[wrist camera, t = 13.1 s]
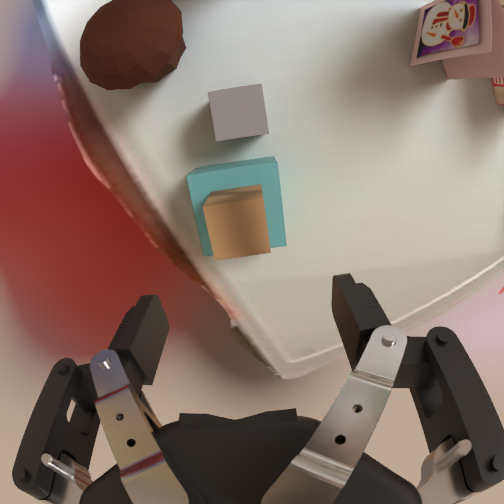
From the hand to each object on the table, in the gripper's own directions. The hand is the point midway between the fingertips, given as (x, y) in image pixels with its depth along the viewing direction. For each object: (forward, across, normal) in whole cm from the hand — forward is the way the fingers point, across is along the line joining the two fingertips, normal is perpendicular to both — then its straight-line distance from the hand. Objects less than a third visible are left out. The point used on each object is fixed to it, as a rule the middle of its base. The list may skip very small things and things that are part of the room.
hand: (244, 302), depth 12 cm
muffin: (+22, +9, -19) cm, 30 cm away
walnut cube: (+16, +1, +1) cm, 17 cm away
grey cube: (+22, 0, -8) cm, 23 cm away
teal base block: (+22, +1, +1) cm, 22 cm away
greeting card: (+22, -27, -19) cm, 39 cm away
